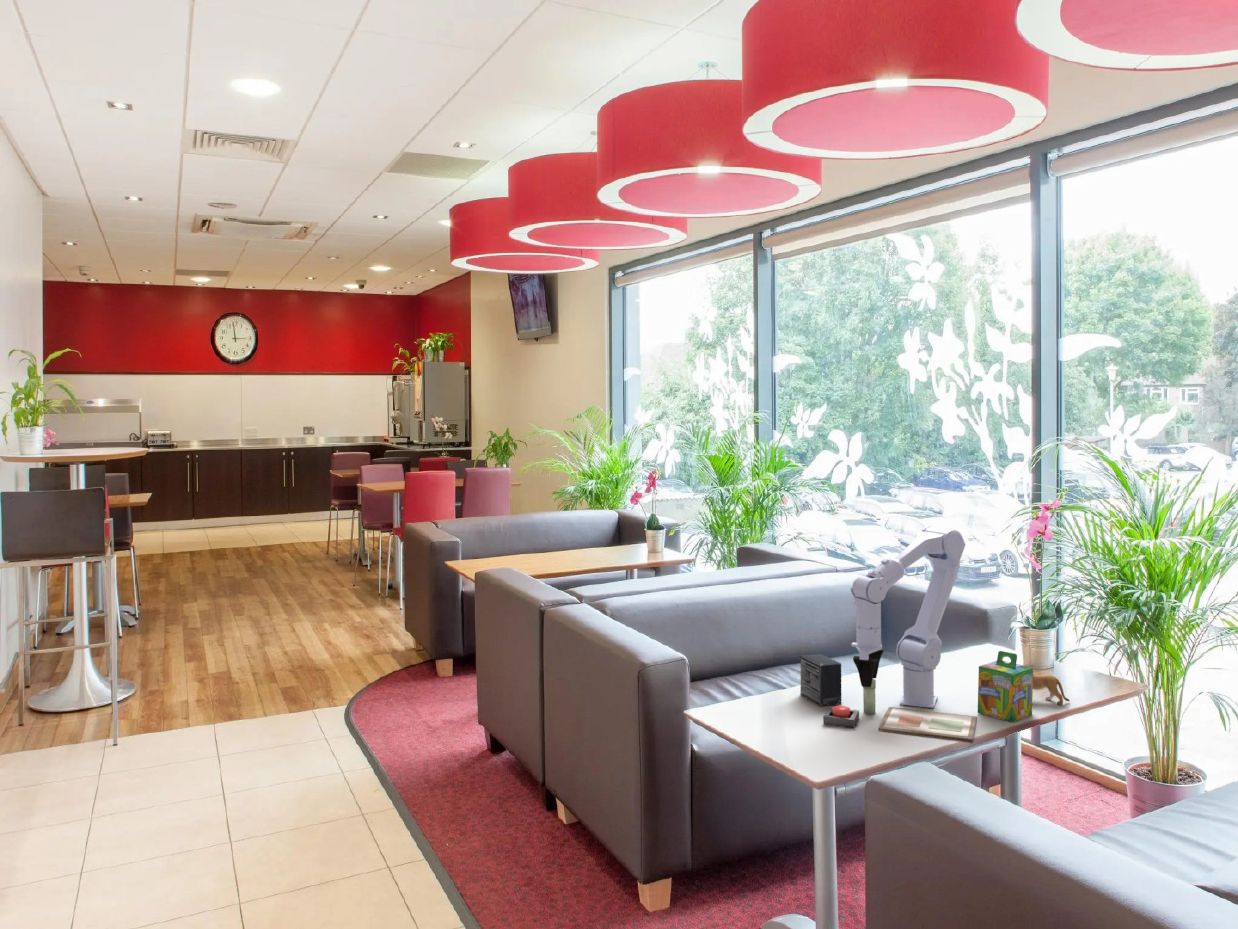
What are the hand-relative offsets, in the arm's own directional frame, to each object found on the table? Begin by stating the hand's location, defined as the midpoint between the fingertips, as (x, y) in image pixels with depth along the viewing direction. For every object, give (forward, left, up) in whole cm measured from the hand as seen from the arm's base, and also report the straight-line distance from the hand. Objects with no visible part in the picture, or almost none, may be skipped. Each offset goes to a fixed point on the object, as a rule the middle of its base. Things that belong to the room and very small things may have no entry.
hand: (869, 682), depth 220 cm
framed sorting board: (+4, +14, -8) cm, 16 cm away
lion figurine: (-23, +37, -8) cm, 44 cm away
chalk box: (-10, +30, -8) cm, 33 cm away
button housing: (+9, -5, -8) cm, 13 cm away
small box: (-6, -13, -8) cm, 16 cm away
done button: (+9, -5, -6) cm, 12 cm away
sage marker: (0, 0, -8) cm, 8 cm away
